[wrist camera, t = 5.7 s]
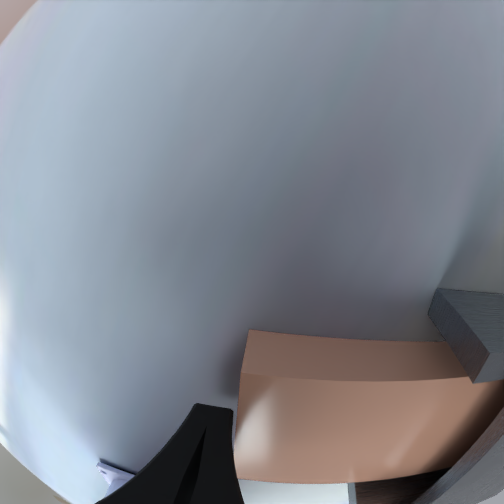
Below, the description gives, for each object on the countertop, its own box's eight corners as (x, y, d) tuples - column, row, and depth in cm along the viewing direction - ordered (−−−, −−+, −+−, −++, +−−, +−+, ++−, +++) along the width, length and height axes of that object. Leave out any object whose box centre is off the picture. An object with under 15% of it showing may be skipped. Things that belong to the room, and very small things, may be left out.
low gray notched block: (478, 447, 12) (496, 494, 8) (345, 468, 13) (351, 534, 8) (570, 298, 8) (617, 342, 4) (436, 288, 8) (504, 373, 4)
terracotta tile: (449, 433, 12) (461, 464, 9) (238, 437, 12) (231, 477, 10) (511, 335, 9) (536, 365, 7) (249, 324, 10) (240, 372, 8)
